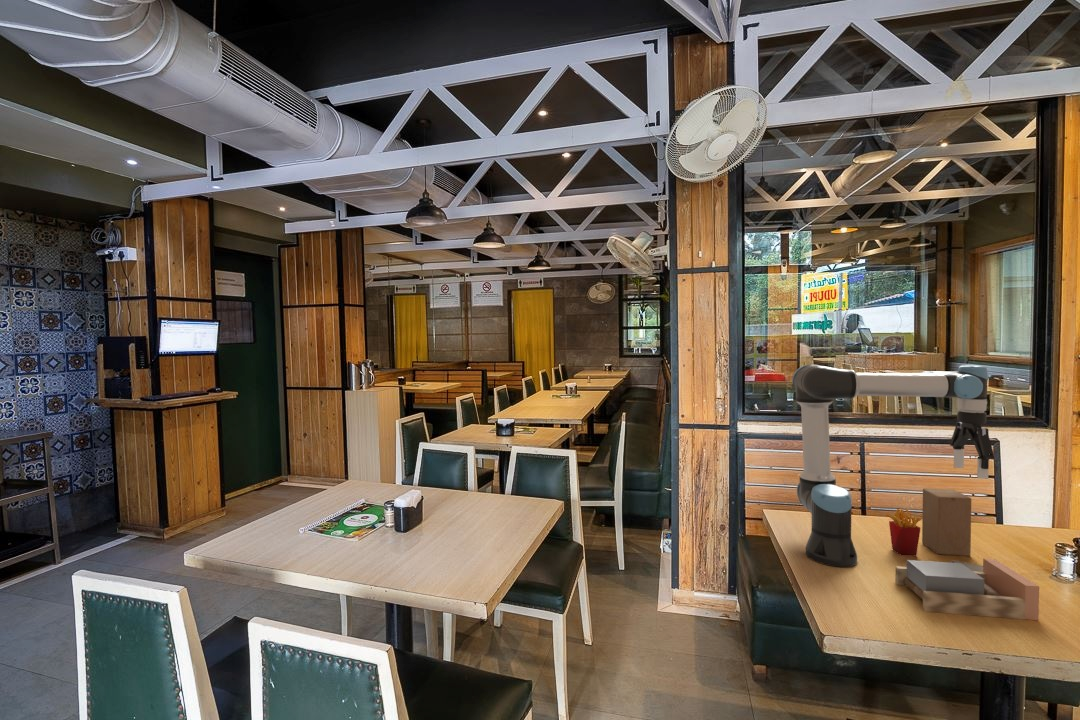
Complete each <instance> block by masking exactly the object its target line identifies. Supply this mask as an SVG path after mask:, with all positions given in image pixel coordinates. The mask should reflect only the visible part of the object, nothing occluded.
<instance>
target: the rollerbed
mask: <svg viewBox="0 0 1080 720" xmlns="http://www.w3.org/2000/svg"><path fill="white" fill-rule="evenodd" d="M973 572H974V573H976V574H977V575H979V576H980V577H982V578H983V579H984V595H977V594H963V593H949V592H935V591H922V590H921V589H920V588H919V587H918V586H917V585H916V584H915V583H913V582H912V581H911V580H910V579H909V578H908V577H907V566H897V565H895V573H894V574H895V575H894V577H895V578H894V579H895V581H894V582H895V584H897V585H898V586H907V587H908V589H910V590H911V591H912V592H914V594H915V595H917V596H918V597H919V599H921V600H922V609H923V611H925V612H929V613H938V614H939V613H940V614H955V615H966V616H967V615H968V616H981V617H994V618H1004V619H1016V620H1019V619H1020V620H1026V619H1025V600H1024V599H1022V598H1019V597H1005V596H1002V595H1001V594H999V593H998V592H997V591H995V590H994V589H992V588H991V587H990V586H988V585H987V584H986V573H984V572H978V571H973Z"/></svg>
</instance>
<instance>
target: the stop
mask: <svg viewBox="0 0 1080 720" xmlns="http://www.w3.org/2000/svg"><path fill="white" fill-rule="evenodd" d="M982 561H983V562H982V566H983V572H984V573H986V584H987V585H988V586H990V587H991V588H992V589H994V590H995V591H997V592H998V593H999V594H1001V595H1002V596H1005V597H1019V598H1022V599H1024V600H1025V619H1024V620H1030V621H1039V615H1040V614H1039V612H1040V611H1039V610H1040V608H1039V607H1040V606H1039V605H1040V604H1039V603H1040V586H1039V585H1038V584H1037V583H1034V582H1033V581H1031V580H1029V579H1028V578H1026V577H1025V576H1023V575H1022V574H1020V573H1018V572H1016V571H1015V570H1013V569H1012V568H1010V567H1008V566H1007V565H1006V564H1004V563H1002V562H1000V561H999V560H997V559H996V558H983V559H982Z"/></svg>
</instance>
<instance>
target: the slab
mask: <svg viewBox="0 0 1080 720" xmlns="http://www.w3.org/2000/svg"><path fill="white" fill-rule="evenodd" d="M906 567H907V577H908V578H909V579H910V580H911V581H912V582H913V583H915V584H916V585H917V586H918V587H919V588H920V589H921V590H922V591H935V592H949V593H963V594H977V595H984V579H983V578H982V577H980V576H979V575H977V574H976V573H974V572H973V571H972V570H970V569H969V568H967V567H966V566H964V565H963V564H961V563H951V561H950V562H947V561H946V562H945V561H935V560H932V561H931V560H913V559H906Z"/></svg>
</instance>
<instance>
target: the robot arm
mask: <svg viewBox="0 0 1080 720" xmlns="http://www.w3.org/2000/svg"><path fill="white" fill-rule="evenodd" d="M988 377H989V376H988V368H987V367H986V366H983V365H960V366H958V369H957V370H955V371H941V370H940V371H938V370H936V371H934V370H933V371H932V370H929V371H922V372H919V373H903V372H901V373H896V372H895V373H894V372H893V373H892V372H891V373H889V372H886V373H884V372H883V373H882V372H876V373H875V372H874V373H873V372H856V371H855V370H853V369H839V368H835V367H829V366H827V365H826V366H825V365H820V364H813V363H812V364H805V365H802V366H800V367H799V368H797V369H796V370H795V371H794V373H793V374H792V378H791V379H792V380H791V382H792V386H793V389H794V390H795V398H796V399H795V400H796V403H797V404H798V405H799V406H800V408H801V435H802V457H803V458H802V459H803V463H802V464H803V471H802V472H801V473H800V474H799V475H798V476H799V481H798V482H799V483H798V485H797V486H796V496H797V499H798V500H799V502H800V503H801V505H802V506H803V507H804V508H805V509H806V510H807V511H808V512H809V513H810V514H811V529H810V530H811V532H810V535H809V537H808V539H807V542H806V545H805V555H806V557H808V559H810V560H812V561H813V562H817V563H820V564H822V565H826V566H830V567H837V568H846V567H848V568H850V567H853V566H855V565H857V564H858V554H857V551H856V548H855V545H854V543H853V540H852V512H853V511H852V509H853V508H852V507H853V501H852V495H851V493H850V492H849V491H848V490H847V489H845V488H843V487H841V486H838V485H837V482H836V481H837V479H836V478H837V477H836V476H835V475H834V474H833V473H832V472H831V455H830V454H831V449H830V448H831V446H830V445H831V444H830V427H829V426H830V424H829V423H830V422H829V421H830V419H829V418H830V417H829V406H830V405H831V404H832V403H834V402H833V401H834V400H841V399H844V400H846V399H847V400H848V399H850V400H851V399H854V398H856V397H858V396H859V397H862V396H863V397H915V398H916V397H922V398H923V397H924V398H928V397H929V398H931V397H932V398H957V410H958V411H957V415H956V417H957V418H956V419H957V421H956V422H955V427H954V431H953V433H952V436H951V439H950V442H949V446H951V447H952V448H953V468H955V469H965V467H964V466H965V445H967V442H968V440H970V441H972V442H973V443H972V444H973V445H974V447H975V450H976V452H977V455H978V456H977V468H976V469H977V470H976V471H977V473H976V478H978V479H984V480H985V479H986V480H987V479H989V465H990V460H991V459H995V454H994V450H993V447H992V442H991V439H990V435H989V434H990V433H989V428H986V427H985V428H983V427H982V425H984V424H986V423H987V412H986V411H987V404H988V380H989V378H988Z"/></svg>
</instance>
